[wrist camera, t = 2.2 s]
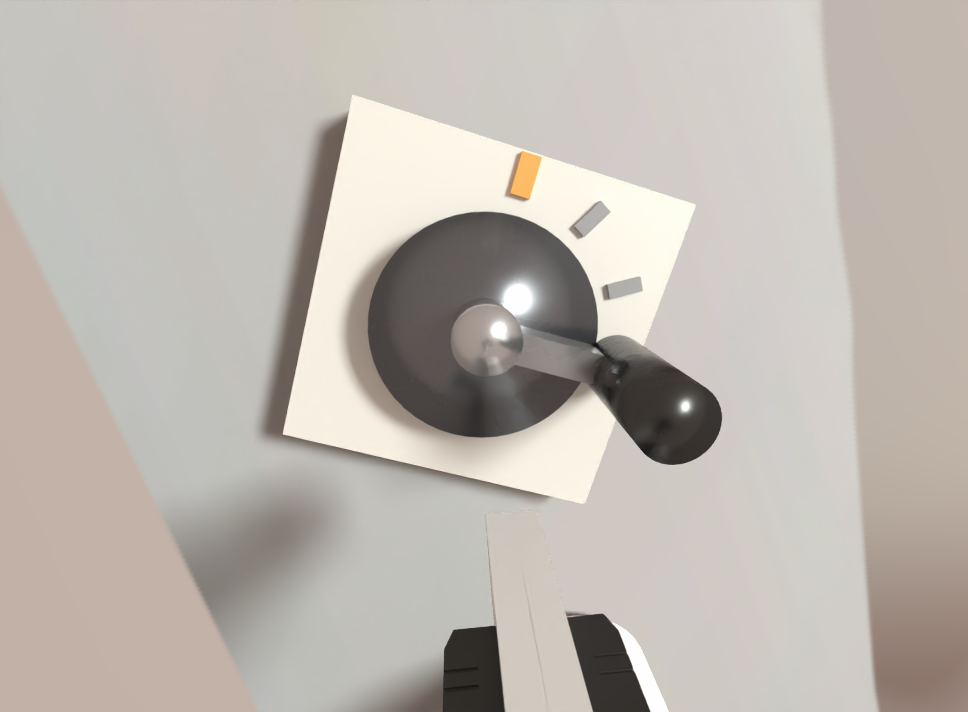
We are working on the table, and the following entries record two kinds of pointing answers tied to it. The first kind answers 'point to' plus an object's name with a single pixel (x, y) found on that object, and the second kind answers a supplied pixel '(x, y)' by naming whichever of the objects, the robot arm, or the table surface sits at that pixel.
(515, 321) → the dial
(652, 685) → the beverage can
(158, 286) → the table surface
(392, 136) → the dial board
